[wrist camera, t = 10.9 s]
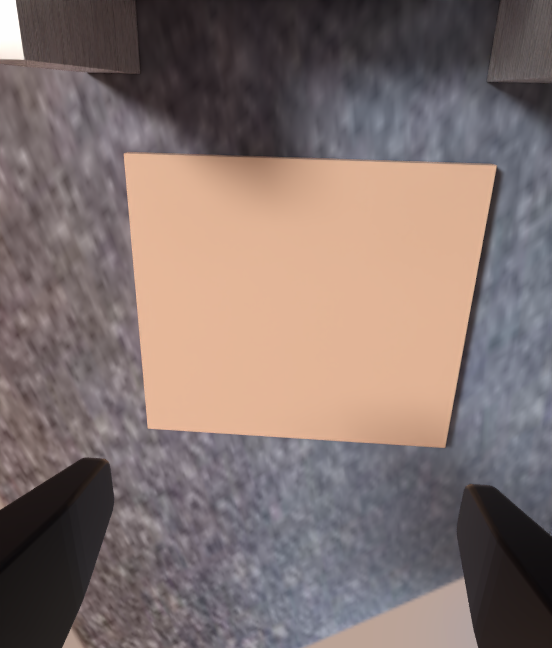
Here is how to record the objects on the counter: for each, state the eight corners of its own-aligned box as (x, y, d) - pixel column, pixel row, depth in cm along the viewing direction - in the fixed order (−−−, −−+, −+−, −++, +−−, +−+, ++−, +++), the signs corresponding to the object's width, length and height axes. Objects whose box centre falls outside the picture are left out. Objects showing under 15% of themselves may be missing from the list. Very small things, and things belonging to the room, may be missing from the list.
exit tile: (492, 163, 14) (496, 165, 14) (442, 440, 18) (445, 447, 17) (128, 152, 15) (123, 153, 14) (151, 421, 18) (147, 428, 18)
